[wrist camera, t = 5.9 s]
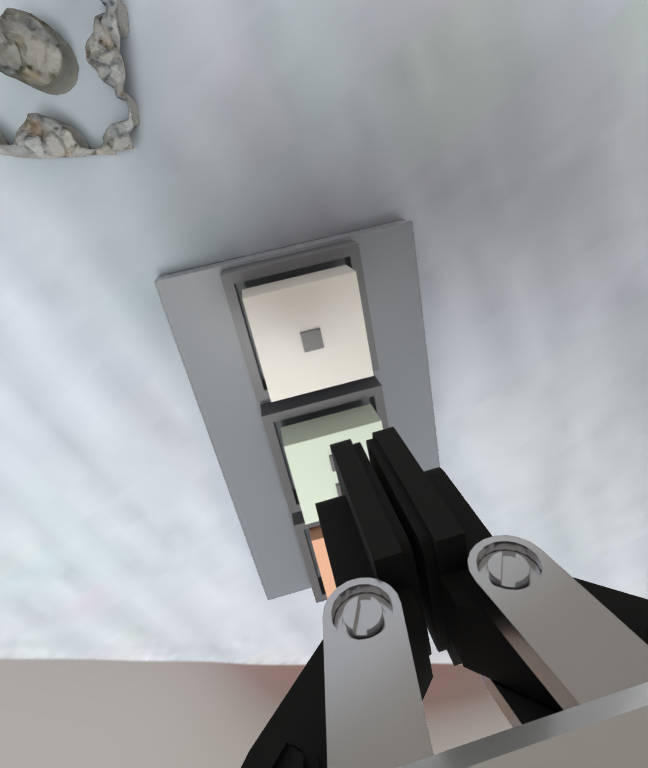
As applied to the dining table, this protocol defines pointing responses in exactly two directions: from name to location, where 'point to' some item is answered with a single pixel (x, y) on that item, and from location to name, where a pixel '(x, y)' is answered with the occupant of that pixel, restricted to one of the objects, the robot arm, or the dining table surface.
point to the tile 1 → (309, 331)
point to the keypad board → (265, 418)
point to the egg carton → (63, 80)
